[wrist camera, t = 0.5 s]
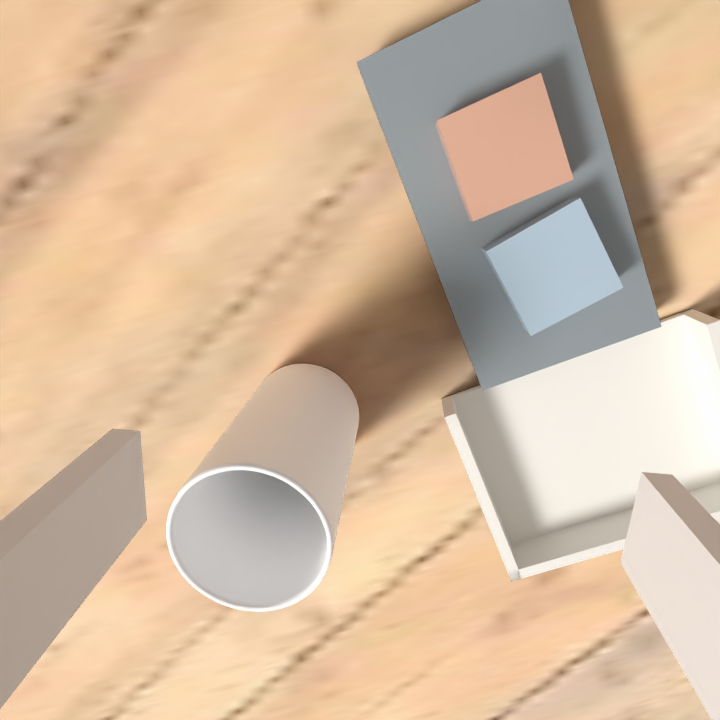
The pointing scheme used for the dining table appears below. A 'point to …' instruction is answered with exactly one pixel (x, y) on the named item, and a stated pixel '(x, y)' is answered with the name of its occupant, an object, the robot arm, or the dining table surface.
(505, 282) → the blue tile
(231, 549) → the cup
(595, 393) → the box
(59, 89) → the dining table surface
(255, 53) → the dining table surface
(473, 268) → the board
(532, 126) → the terracotta tile
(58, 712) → the dining table surface
